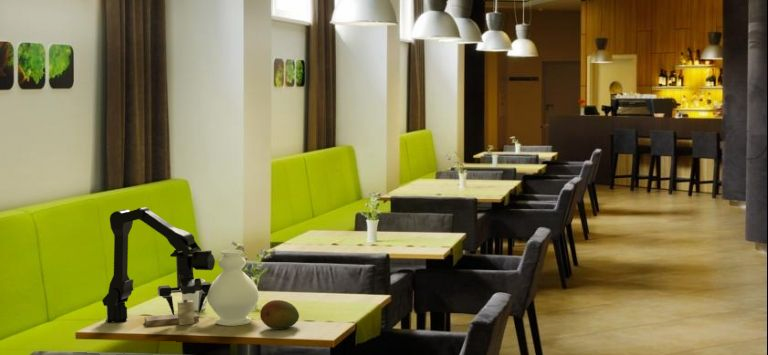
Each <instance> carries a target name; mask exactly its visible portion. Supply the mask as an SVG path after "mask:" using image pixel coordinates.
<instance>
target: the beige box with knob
mask: <svg viewBox="0 0 768 355" xmlns="http://www.w3.org/2000/svg"><path fill="white" fill-rule="evenodd" d="M194 313H195V311H194V305H193V301H192V300H188V301H187V299H185V300H183V301H182V300H179V301H177V314H178V323H179V324H178V325H179V326H183V325H184V326H186V325H193V324H195V322H194Z"/></svg>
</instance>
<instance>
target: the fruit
mask: <svg viewBox="0 0 768 355" xmlns="http://www.w3.org/2000/svg"><path fill="white" fill-rule="evenodd" d="M299 313H300V312H299V311H298V309H297V307H295V305H294V304H292V303H290V302H288V301H284V300H281V299H279V300H278V299H275V300H270V301H268V302H267V303H265V304H264V305H263V306H262V307H261V309H260V313H259V314H260V319H261V321H262V322H263V324H264V325H265V326H267V327H269V328H271V329H275V330H285V329H288V328H291V327H293V326H295V324H296V323H297V322H298V320H299V318H300V314H299Z"/></svg>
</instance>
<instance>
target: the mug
mask: <svg viewBox="0 0 768 355" xmlns="http://www.w3.org/2000/svg"><path fill="white" fill-rule="evenodd" d="M200 279H201V283H205V282H206V280H205V279H204V278H200ZM185 299H187V301H188V300H192V301H193V305H194V312H199V311H198V304H199V291H196V293H194V294H192V293H189V294H182V293H181V301H183V300H185ZM207 303H208V300H207V296H206V298H205V300H204V302H203V305H202V309H201V311H203V310H205V309H206V307H207Z"/></svg>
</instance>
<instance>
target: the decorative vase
mask: <svg viewBox="0 0 768 355" xmlns="http://www.w3.org/2000/svg"><path fill="white" fill-rule="evenodd" d="M220 254H221V255H223V256H222V257H221V258H220V259H219V260H218V266H219V267H220V268H221V269H222V272H220V274H219V275H217V277H216V278H215V279H214V280H213V282H212V283H211V284H212V285H211V287H210V289H209V291H208V295H207V303H208V305H209V306H210V307H211V309H212V310H213V311H214V312H215V313H216V314H217V316H218V317H219V318H217V319H215V320H214V321H215V324H217V325H220V326H226V327H228V326H230V327H231V326H242V325H247V324H251V323H252V318H251V317H248V316H249V314H250V313H251V312H252V310H253V309H254V308H255V306H256V305H257V303H258V301H259V297H260V296H259V295H260V294H259V290H258V288H257V287H258V286H256V283H254V281H253V280H252V279H251V278H250V276H248V274H246V273H245V272H244V271H243V270H242V269H243V268H244V267H245V266H246V264H247V261H246V259H245V257H243V256H242V254H244V251H243V250H242V249H224V250H221V251H220Z"/></svg>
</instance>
